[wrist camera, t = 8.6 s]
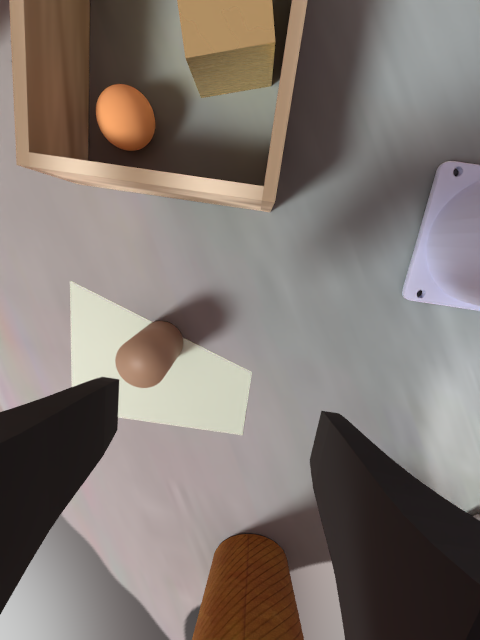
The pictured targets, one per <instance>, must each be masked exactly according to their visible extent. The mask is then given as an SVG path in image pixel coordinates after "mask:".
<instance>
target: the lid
mask: <svg viewBox="0 0 480 640" xmlns="http://www.w3.org/2000/svg"><path fill="white" fill-rule="evenodd" d="M70 306H71V369H72V387H74V386H77V385H79V384H82V383H85V382H87V381H90V380H93V379H96V378H100V377H107V378H114V379H119V401H118V417H119V418H126V419H133V420H140V421H147V422H154V423H161V424H168V425H175V426H182V427H189V428H196V429H203V430H209V431H216V432H223V433H230V434H237V435H243V428H244V421H245V414H246V408H247V401H248V394H249V388H250V381H251V374H252V372H250V371H248V370H246V369H244V368H242V367H240V366H238V365H236V364H234V363H232V362H230V361H228V360H226V359H224V358H222V357H220V356H218V355H216V354H214V353H212V352H210V351H208V350H206V349H205V348H203V347H201V346H199V345H197V344H195V343H193V342H191V341H189V340H187V339H185V338H183V337H182V334H181V333H180V331H179V330H178V329H177V327H175V326H174V325H173V324H171V323H169V322H165V321H156V322H151V321H149V320H147V319H145V318H143V317H141V316H139V315H137V314H135V313H133V312H131V311H129V310H127V309H125V308H123V307H121V306H119V305H117V304H115V303H113V302H111V301H109V300H107V299H105V298H103V297H101V296H99V295H97V294H95V293H93V292H91V291H89V290H87V289H85V288H83V287H81V286H80V285H78V284H76V283H74V282H72V281H70Z"/></svg>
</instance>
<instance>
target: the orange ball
mask: <svg viewBox="0 0 480 640" xmlns="http://www.w3.org/2000/svg"><path fill="white" fill-rule="evenodd" d="M96 118H97V122H98V125H99V128H100V130H101V132H102V133H103V135H104V136H105V137H106V138H107V140H108V141H109V142H111V143H112V144H113V145H115V146H116V147H118V148H120V149H123V150H127V151H135V150H139V149H142V148H143V147H145V146H146V145H147V144H148V143H149V142H150V141H151V139H152V137H153V135H154V131H155V117H154V113H153V110H152V107H151V105H150V103H149V102H148V100H147V99H146V98H145V96H144V95H143V94H142V93H141V92H139V91H138V90H137V89H135V88H133V87H131V86H129V85H124V84H115V85H111V86H109V87H107V88H106V89H105V90H104V91H103V92H102V93H101V94H100V96H99V98H98V100H97V104H96Z"/></svg>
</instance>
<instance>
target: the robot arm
mask: <svg viewBox="0 0 480 640" xmlns="http://www.w3.org/2000/svg"><path fill="white" fill-rule="evenodd" d="M455 168H456V169H458V175H457V177H456V176H454V174H453V170H454V169H455ZM419 290H422V294H421V296H419V297H417V292H418V291H419ZM402 295H403V297H404V298H405V299H408V300H411V301H417V302H424V303H431V304H438V305H444V306H451V307H458V308H464V309H471V310H478V311H480V165H478V164H471V163H464V162H457V161H447V162H444V163H442V164H441V165H440V166H439V167H438V169H437V171H436V174H435V178H434V181H433V185H432V189H431V192H430V196H429V199H428V203H427V206H426V210H425V213H424V217H423V220H422V224H421V227H420V231H419V234H418V238H417V241H416V245H415V248H414V252H413V255H412V259H411V262H410V266H409V269H408V273H407V276H406V280H405V283H404V287H403V290H402ZM118 401H119V379H114V378H107V377H100V378H96V379H93V380H90V381H87V382H85V383H82V384H79V385H77V386H74V387H71V388H69V389H66V390H63V391H61V392H58V393H55V394H53V395H50V396H47V397H45V398H42V399H39V400H36V401H33V402H30V403H27V404H24V405H21V406H18V407H16V408H13V409H9V410H6V411H3V412H0V614H1V612H2V610H3V609H4V607H5V605H6V603H7V602H8V600H9V598H10V596H11V595H12V593H13V591H14V589H15V588H16V586H17V584H18V583H19V581H20V579H21V577H22V576H23V574H24V572H25V570H26V568H27V567H28V565H29V563H30V562H31V560H32V559H33V557H34V555H35V554H36V552H37V550H38V549H39V547H40V545H41V544H42V542H43V540H44V539H45V537H46V535H47V534H48V532H49V530H50V529H51V527H52V526H53V524H54V523H55V521H56V520H57V519H58V517H59V515H60V514H61V513H62V511H63V510H64V509H65V507H66V506H67V505H68V503H69V502H70V501H71V499H72V498H73V496H74V495H75V494H76V492H77V491H78V490H79V488H80V487H81V485H82V484H83V483H84V481H85V480H86V479H87V477H88V476H89V475H90V473H91V472H92V470H93V469H94V468H95V466H96V465H97V463H98V462H99V461H100V459H101V458H102V456H103V455H104V453H105V451H106V450H107V448H108V446H109V444H110V442H111V441H112V439H113V437H114V435H115V433H116V431H117V424H118ZM310 466H311V475H312V482H313V489H314V493H315V497H316V501H317V505H318V509H319V513H320V517H321V521H322V525H323V529H324V533H325V536H326V540H327V544H328V548H329V552H330V556H331V560H332V564H333V569H334V573H335V578H336V583H337V590H338V595H339V602H340V608H341V614H342V620H343V627H344V634H345V640H480V521H479V520H478V519H476V518H475V517H473V516H471V515H470V514H468V513H466V512H465V511H463V510H461V509H460V508H458V507H457V506H455V505H454V504H452V503H451V502H449V501H447V500H446V499H444V498H443V497H442V496H440V495H439V494H437V493H436V492H434V491H433V490H432V489H430V488H429V487H427V486H426V485H424V484H423V483H422V482H420V481H419V480H418V479H416V478H415V477H413V476H412V475H411V474H410V473H408V472H407V471H406V470H405V469H403V468H402V467H401V466H400V465H398V464H397V463H396V462H395V461H393V460H392V459H391V458H390V457H388V456H387V455H386V454H385V453H384V452H383V451H381V450H380V449H379V448H378V447H377V446H376V445H375V444H373V443H372V442H371V441H370V440H369V439H368V438H367V437H366V436H364V435H363V434H362V433H361V432H360V431H359V430H358V429H357V428H356V427H354V426H353V425H352V424H351V423H350V422H349V421H348V420H347V419H345V418H344V417H343V416H342V415H340V414H338V413H332V412H325V411H321V416H320V420H319V424H318V428H317V432H316V436H315V441H314V445H313V449H312V453H311V457H310Z"/></svg>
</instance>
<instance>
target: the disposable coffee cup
mask: <svg viewBox="0 0 480 640" xmlns="http://www.w3.org/2000/svg"><path fill="white" fill-rule="evenodd" d="M303 638H304V637H303V633H302V629H301V623H300V619H299V614H298V610H297V605H296V601H295V595H294V592H293V586H292V582H291V577H290V573H289V568H288V563H287V558H286V555H285V553H284V551H283V550H282V548H281V547H280V546H279V545H278V544H276V543H275V542H274V541H272V540H270V539H268V538H266V537H264V536H260V535H255V534H241V535H236V536H233V537H230V538H228V539H227V540H225V541H223V542H222V543H221V544H220V545H219V546H218V548H217V549H216V551H215V553H214V557H213V561H212V565H211V569H210V573H209V577H208V580H207V585H206V588H205V592H204V596H203V600H202V603H201V607H200V611H199V615H198V620H197V623H196V626H195V631H194V634H193V638H192V640H304V639H303Z"/></svg>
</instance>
